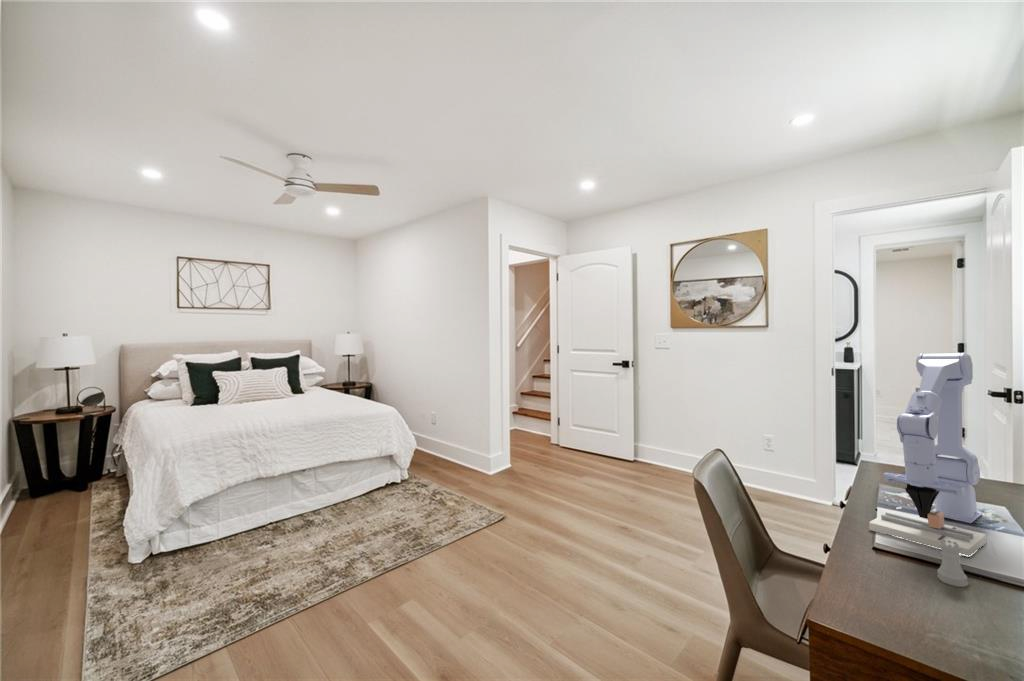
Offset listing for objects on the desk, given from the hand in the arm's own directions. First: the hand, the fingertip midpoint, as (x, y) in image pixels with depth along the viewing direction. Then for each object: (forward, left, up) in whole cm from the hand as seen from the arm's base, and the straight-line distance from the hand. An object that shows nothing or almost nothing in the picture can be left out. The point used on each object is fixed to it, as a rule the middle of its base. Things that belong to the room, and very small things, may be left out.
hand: (924, 516), depth 104 cm
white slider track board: (0, 0, -5) cm, 5 cm away
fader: (0, +2, -2) cm, 3 cm away
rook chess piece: (+20, +10, -5) cm, 23 cm away
